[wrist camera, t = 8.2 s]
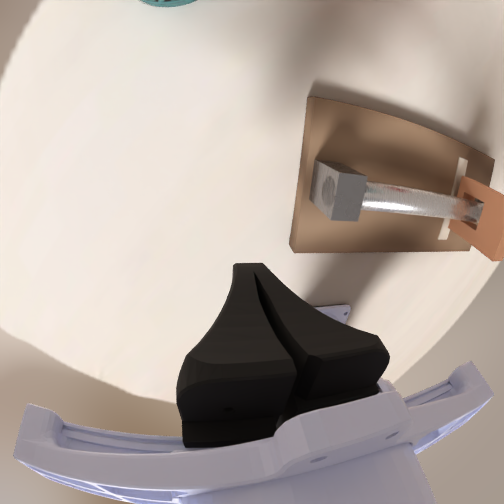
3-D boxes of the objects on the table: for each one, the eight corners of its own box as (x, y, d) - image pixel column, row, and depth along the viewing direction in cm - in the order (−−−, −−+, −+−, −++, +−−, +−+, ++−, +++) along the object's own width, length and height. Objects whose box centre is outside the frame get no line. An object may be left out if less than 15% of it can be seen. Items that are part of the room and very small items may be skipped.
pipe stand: (478, 217, 23) (501, 233, 20) (308, 199, 19) (330, 220, 16) (485, 194, 22) (509, 208, 18) (314, 159, 18) (339, 172, 15)
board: (461, 245, 27) (469, 251, 25) (288, 244, 23) (294, 253, 21) (486, 156, 21) (495, 159, 20) (307, 97, 17) (315, 96, 16)
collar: (459, 228, 22) (502, 260, 17) (447, 227, 22) (492, 261, 16) (473, 179, 20) (521, 205, 14) (461, 175, 19) (512, 201, 14)
